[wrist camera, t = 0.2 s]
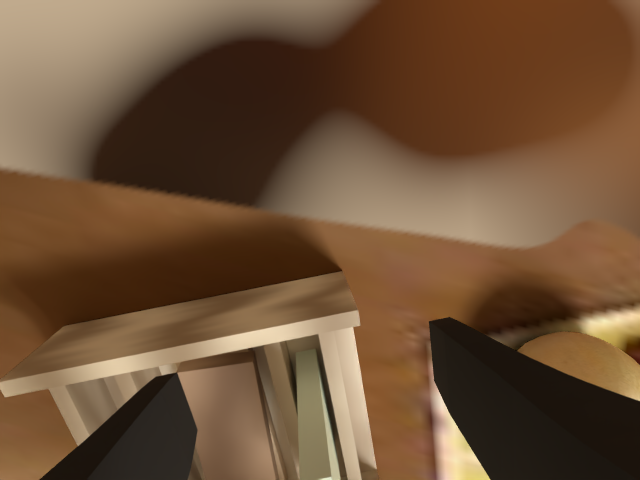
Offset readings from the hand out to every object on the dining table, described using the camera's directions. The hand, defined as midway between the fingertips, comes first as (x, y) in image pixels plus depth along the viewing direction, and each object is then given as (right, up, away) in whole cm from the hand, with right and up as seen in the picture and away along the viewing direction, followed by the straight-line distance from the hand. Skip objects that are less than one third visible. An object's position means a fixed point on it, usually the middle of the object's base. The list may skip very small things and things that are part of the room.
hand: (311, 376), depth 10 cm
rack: (-5, -7, +12) cm, 15 cm away
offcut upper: (-5, -7, +11) cm, 14 cm away
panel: (0, -6, +12) cm, 13 cm away
